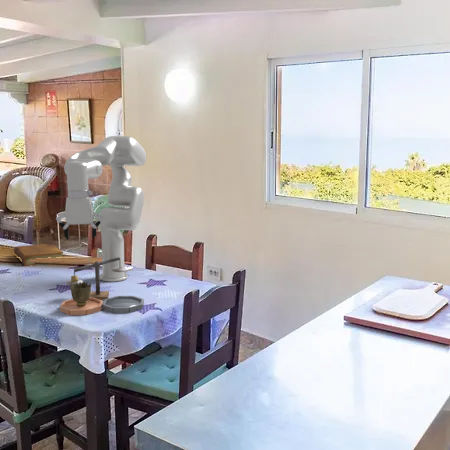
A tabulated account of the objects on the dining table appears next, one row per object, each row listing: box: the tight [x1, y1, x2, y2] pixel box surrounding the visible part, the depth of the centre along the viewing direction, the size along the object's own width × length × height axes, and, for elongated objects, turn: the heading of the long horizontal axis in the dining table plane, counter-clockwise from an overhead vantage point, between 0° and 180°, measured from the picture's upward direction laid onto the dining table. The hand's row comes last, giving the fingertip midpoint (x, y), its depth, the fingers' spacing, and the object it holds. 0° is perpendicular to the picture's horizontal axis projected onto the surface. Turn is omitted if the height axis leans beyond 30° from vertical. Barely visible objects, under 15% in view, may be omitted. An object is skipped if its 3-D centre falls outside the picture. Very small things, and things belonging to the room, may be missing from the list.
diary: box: [13, 242, 64, 267], centre depth 269 cm, size 23×19×6 cm
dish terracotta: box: [59, 298, 104, 316], centre depth 196 cm, size 15×15×2 cm
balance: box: [66, 257, 129, 301], centre depth 208 cm, size 23×8×16 cm, turn 99°
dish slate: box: [101, 295, 145, 314], centre depth 199 cm, size 15×15×2 cm
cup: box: [69, 281, 92, 307], centre depth 196 cm, size 8×7×8 cm
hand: (80, 238), depth 205 cm, fingers open, 9 cm apart
